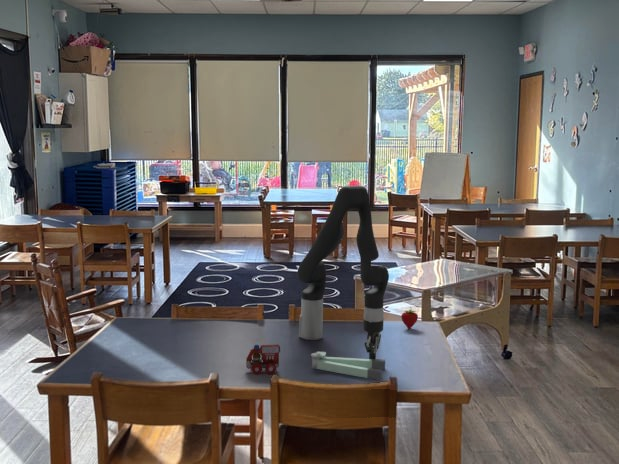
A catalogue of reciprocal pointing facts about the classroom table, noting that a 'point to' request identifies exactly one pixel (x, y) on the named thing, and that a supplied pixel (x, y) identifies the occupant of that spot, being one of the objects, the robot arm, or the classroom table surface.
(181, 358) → the classroom table surface
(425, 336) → the classroom table surface
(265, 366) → the toy fire truck
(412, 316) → the strawberry
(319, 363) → the bar
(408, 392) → the classroom table surface
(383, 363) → the tongs arm
